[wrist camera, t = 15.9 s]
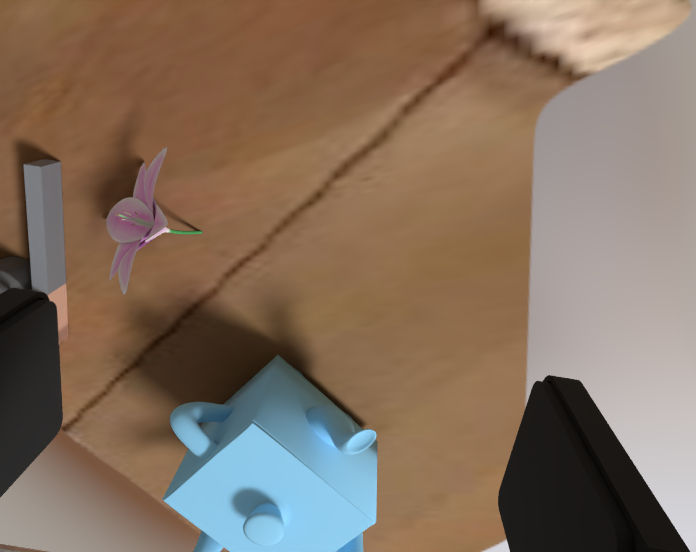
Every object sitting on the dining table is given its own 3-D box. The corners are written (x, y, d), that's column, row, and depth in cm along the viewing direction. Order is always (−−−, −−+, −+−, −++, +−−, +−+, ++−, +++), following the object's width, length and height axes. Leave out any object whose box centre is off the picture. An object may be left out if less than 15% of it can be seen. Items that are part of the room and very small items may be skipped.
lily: (212, 132, 48) (117, 118, 39) (259, 253, 46) (171, 265, 38) (136, 192, 54) (41, 191, 46) (176, 300, 53) (86, 319, 45)
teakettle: (199, 343, 54) (135, 435, 40) (384, 347, 53) (383, 443, 39) (217, 490, 61) (168, 612, 47) (381, 497, 60) (381, 624, 46)
